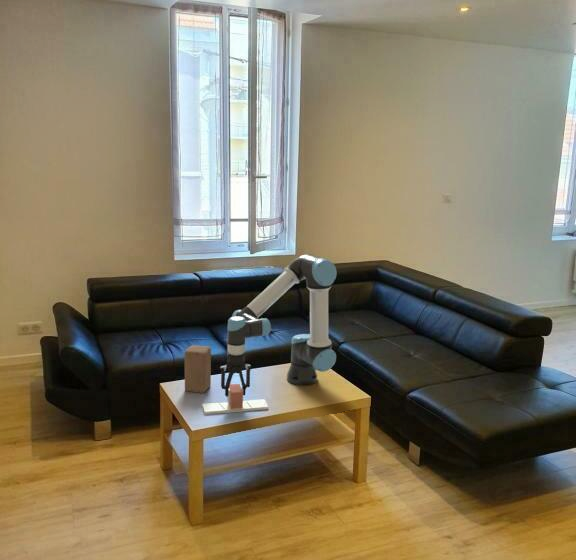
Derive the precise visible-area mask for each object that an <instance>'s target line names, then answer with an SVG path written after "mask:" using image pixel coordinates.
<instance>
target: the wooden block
mask: <svg viewBox="0 0 576 560" xmlns="http://www.w3.org/2000/svg"><path fill="white" fill-rule="evenodd" d="M211 349H212V348H211V347H210V346H205V345H204V346H203V345H195V344H191V345H190V346H189V347H187V348H186V350H185V351H184V391H186V392H192V393H193V392H194V393H202V394H203V393H205V392H206V391H207V390H208V388H210V386H211V385H212V381H211V379H212V374H211V373H212V369H211V367H212V361H211V360H212V358H211V357H212V350H211Z"/></svg>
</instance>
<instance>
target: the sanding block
mask: <svg viewBox="0 0 576 560" xmlns="http://www.w3.org/2000/svg"><path fill="white" fill-rule="evenodd" d="M241 387H242V386H241V385H240V383H232V384H231V383H230V386H229V388H230V404H229V406H230V408H231V410H237V409H243V401H244V395H243V391H242V389H241Z"/></svg>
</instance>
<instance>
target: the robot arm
mask: <svg viewBox="0 0 576 560" xmlns="http://www.w3.org/2000/svg"><path fill="white" fill-rule="evenodd" d="M337 273H338V272H337V268H336V266H335V264H334V263H333V262H332V261H331V260H328V258H324V257H320V256H316V255H313V254H307V253H306V254H303V255H300V256H299V257H297V258H295V259H294V260H292V261H291V262H290V263H289V264H288V265H286V267H284V269H283V272H281V274H280V275H279V276H278V277H277V278H276V279H274V280H273V281H272V282H271V283H270V284H268V286H267V287H266V288H265V289H264V290H263V291H262V292H260V293H259V294H258V295H257V296H256V297H255V298H253V300H252V301H251V302H249V304H247V306H246V307H244V308H243V309H237V310H234V312H233V313H232V315H231V317H230V318H228V320H227V330H226V331H227V351H226V352H227V355H226V357H227V358H226V364H225V365H220V367H219V368H220V372H221V375H220V377H221V378H220V380H221V381H220V387H221V389H222V390H224V395H225V397H227V401H226V402H228V404H230V388H229V386H230V384H231V382H232V379H233V376H234V374H238V375H239V379H240V382H241V386H240V387H241V389H242V391H243V396H245V395H246V390H247V388H250V387H251V382H250V381H251V369H252V366H251V364H249V363H245V358H246V357H245V356H246V353H245V351H246V339H250V338H258V337H264V336H267V335H269V334H271V333H270V332H271V329H272V326H271V322H270V320H269V319H268V318H267V317H265V318H263V317H261V316H262V315H263V314H264V313H265V312H266V311H267V310H269V308H270V307H271V306H273V305H274V304H275V303H276V302H277V301H278V300H279V299H280V298H281V297H282V296H284V294H285V293H286V292H287V291H288V290H290V289H291V288H292V287H293V286H294V285H295V284H300V282H301V281H303V280H305V281H306V289H308V290H309V333H300V334H296V335H294V336H292V337H291V343H290V344H291V352H290V366H289V368H288V371H287V373H286V380H287V382H288V383H291V384H293V385H298V386H309V385H313V384H315V383H317V381H318V374H317V371H318V372H321V373H323V372H328V371H329V370H331V369H332V367H333V366H335V364H336V362H337V354H336V352H335V351H334V350H333V348H332V340H331V339H330V338H329V290H330V289H331V288H332V284H333V283H334V282H335V280H336V278H337ZM259 317H261V318H259ZM244 369H245V374H246V376H245V379H244V375H243V370H244ZM227 370H228V374H227V378H226V371H227ZM245 381H246V382H245Z"/></svg>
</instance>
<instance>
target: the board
mask: <svg viewBox="0 0 576 560" xmlns="http://www.w3.org/2000/svg"><path fill="white" fill-rule="evenodd" d="M202 409H203V413H204V415H216V414H226V413H227V414H229V413H238V412H251V411H253V412H254V411H263V410H269V405H268V403H267V401H266V400H265V399H264V398H263V399H249V400H243V409H237V410H231V408H230V406H229V404H228V402H227V401H226V402H225V401H224V402H211V403H210V402H209V403H202Z"/></svg>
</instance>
